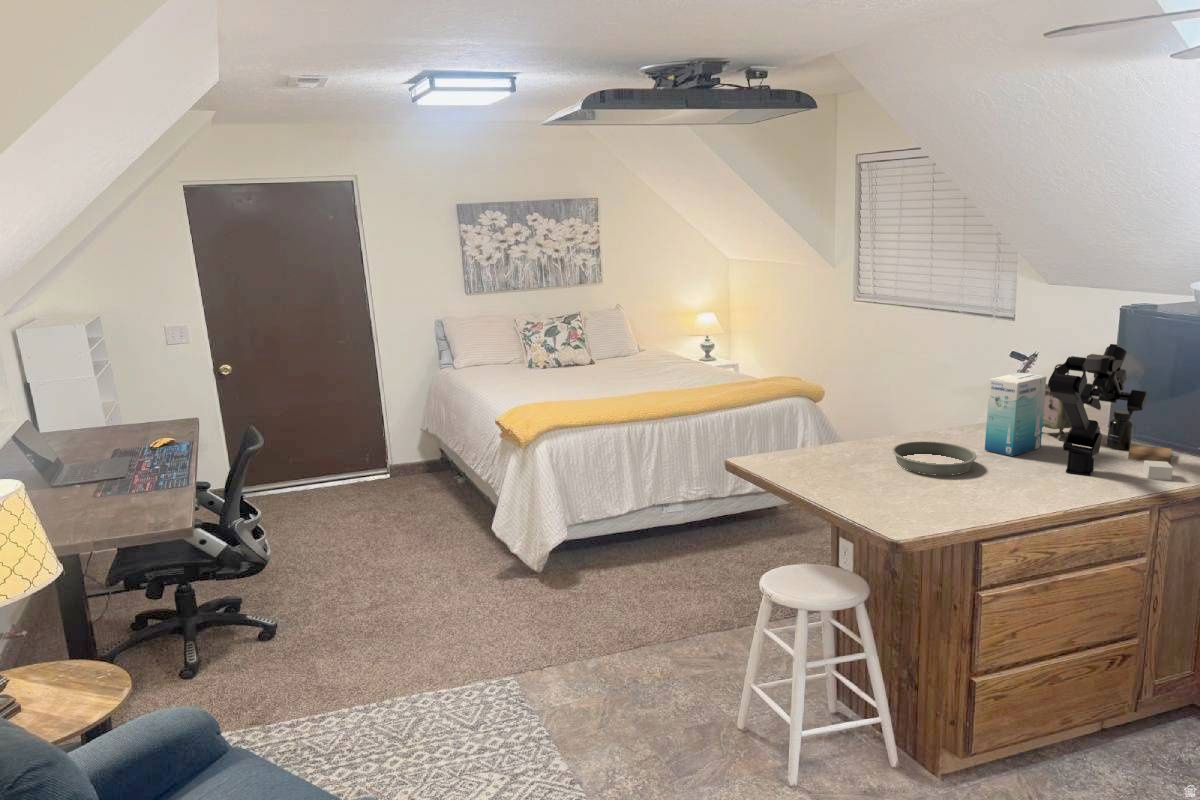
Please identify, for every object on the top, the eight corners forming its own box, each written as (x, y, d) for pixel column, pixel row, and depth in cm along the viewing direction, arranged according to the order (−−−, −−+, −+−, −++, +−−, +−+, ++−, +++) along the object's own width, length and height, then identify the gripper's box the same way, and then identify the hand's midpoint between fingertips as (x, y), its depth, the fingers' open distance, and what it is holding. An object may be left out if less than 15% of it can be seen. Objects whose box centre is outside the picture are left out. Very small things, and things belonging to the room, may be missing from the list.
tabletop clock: (1030, 431, 313) (1037, 361, 307) (1053, 429, 315) (1060, 359, 309) (1058, 442, 299) (1065, 369, 293) (1082, 440, 301) (1090, 367, 295)
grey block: (1147, 479, 261) (1149, 466, 260) (1142, 473, 266) (1144, 460, 266) (1171, 480, 259) (1173, 467, 258) (1165, 474, 265) (1167, 461, 264)
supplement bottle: (1106, 449, 290) (1110, 413, 288) (1106, 443, 296) (1109, 408, 294) (1131, 451, 287) (1135, 415, 285) (1130, 446, 293) (1134, 410, 290)
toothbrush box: (1012, 441, 302) (1018, 370, 296) (1042, 447, 294) (1048, 375, 288) (982, 450, 292) (988, 378, 286) (1012, 457, 284) (1019, 383, 278)
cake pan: (891, 475, 270) (892, 460, 269) (891, 452, 293) (891, 439, 292) (979, 480, 263) (980, 466, 262) (971, 457, 286) (972, 443, 285)
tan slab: (1128, 458, 280) (1128, 452, 279) (1130, 450, 289) (1131, 444, 288) (1169, 463, 274) (1170, 457, 273) (1170, 454, 283) (1171, 448, 282)
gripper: (1149, 365, 269) (1156, 394, 279) (1082, 358, 282) (1092, 386, 292) (1137, 395, 265) (1145, 424, 275) (1071, 386, 279) (1080, 414, 289)
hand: (1115, 411), depth 283 cm, fingers open, 9 cm apart
